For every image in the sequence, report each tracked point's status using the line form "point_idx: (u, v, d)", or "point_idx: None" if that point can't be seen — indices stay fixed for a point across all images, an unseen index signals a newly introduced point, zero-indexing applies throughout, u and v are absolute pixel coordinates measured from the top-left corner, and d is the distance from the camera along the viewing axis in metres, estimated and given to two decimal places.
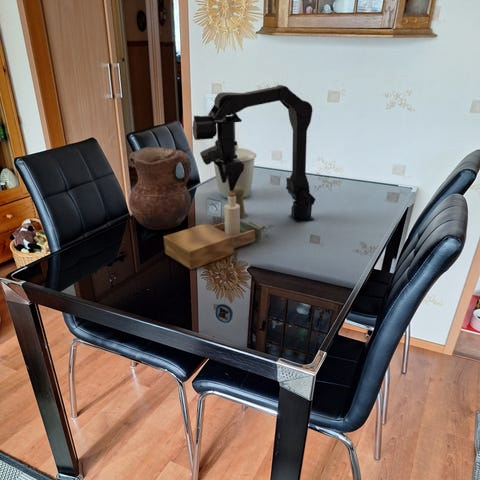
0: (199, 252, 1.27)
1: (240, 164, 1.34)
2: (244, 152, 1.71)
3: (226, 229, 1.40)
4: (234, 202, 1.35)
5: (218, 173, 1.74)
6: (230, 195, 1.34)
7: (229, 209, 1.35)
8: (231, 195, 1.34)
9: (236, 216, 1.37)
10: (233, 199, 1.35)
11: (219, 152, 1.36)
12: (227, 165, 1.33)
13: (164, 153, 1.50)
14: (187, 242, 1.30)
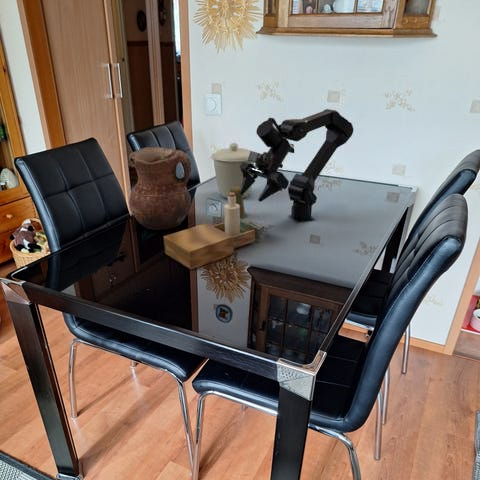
0: (199, 252, 1.27)
1: (288, 182, 1.35)
2: (244, 152, 1.71)
3: (226, 229, 1.40)
4: (234, 202, 1.35)
5: (218, 173, 1.74)
6: (230, 195, 1.34)
7: (229, 209, 1.35)
8: (231, 195, 1.34)
9: (236, 216, 1.37)
10: (233, 199, 1.35)
11: (270, 161, 1.36)
12: (281, 174, 1.32)
13: (164, 153, 1.50)
14: (187, 242, 1.30)
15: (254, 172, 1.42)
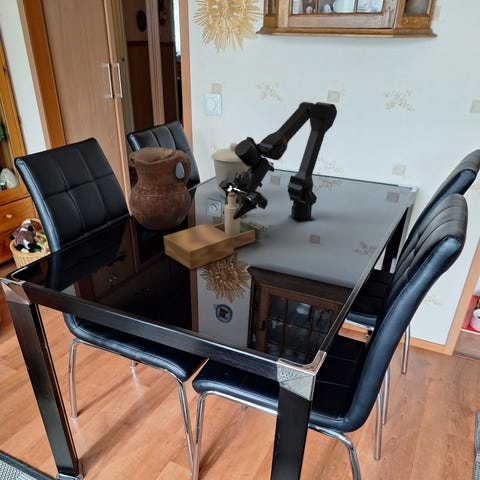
0: (199, 252, 1.27)
1: (266, 201, 1.33)
2: None
3: (226, 229, 1.40)
4: (234, 202, 1.35)
5: (218, 173, 1.74)
6: (230, 195, 1.34)
7: (229, 209, 1.35)
8: (231, 195, 1.34)
9: None
10: (233, 199, 1.35)
11: (248, 181, 1.34)
12: (259, 194, 1.30)
13: (164, 153, 1.50)
14: (187, 242, 1.30)
15: None
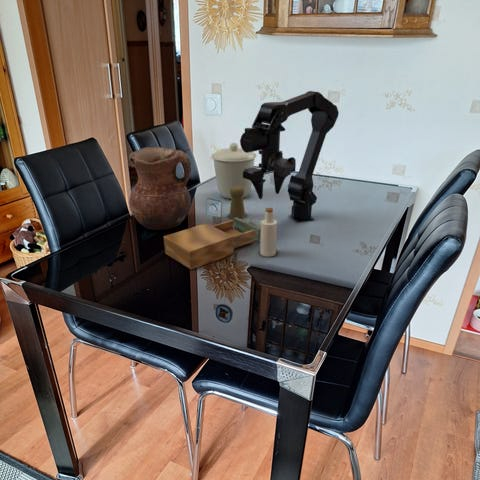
0: (199, 252, 1.27)
1: None
2: (244, 152, 1.71)
3: (265, 246, 1.33)
4: None
5: (218, 173, 1.74)
6: (269, 211, 1.28)
7: (270, 225, 1.29)
8: (270, 210, 1.28)
9: (276, 231, 1.31)
10: (272, 214, 1.29)
11: None
12: None
13: (164, 153, 1.50)
14: (187, 242, 1.30)
15: None
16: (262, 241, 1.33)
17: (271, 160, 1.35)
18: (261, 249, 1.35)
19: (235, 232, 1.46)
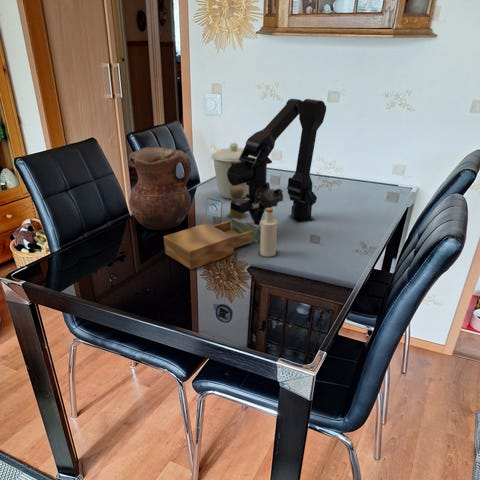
0: (199, 252, 1.27)
1: None
2: None
3: (265, 246, 1.33)
4: None
5: (218, 173, 1.74)
6: (269, 211, 1.28)
7: (270, 225, 1.29)
8: (270, 210, 1.28)
9: (276, 231, 1.31)
10: (272, 214, 1.29)
11: None
12: None
13: (164, 153, 1.50)
14: (187, 242, 1.30)
15: None
16: (262, 241, 1.33)
17: (258, 192, 1.37)
18: (261, 249, 1.35)
19: (233, 232, 1.46)
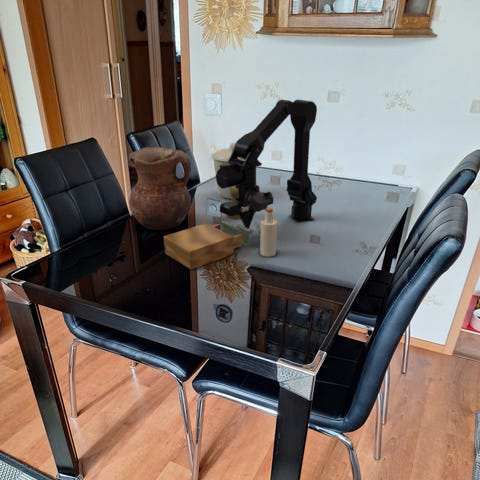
0: (199, 252, 1.27)
1: None
2: None
3: (265, 246, 1.33)
4: None
5: None
6: (269, 211, 1.28)
7: (270, 225, 1.29)
8: (270, 210, 1.28)
9: (276, 231, 1.31)
10: (272, 214, 1.29)
11: None
12: (272, 196, 1.43)
13: (164, 153, 1.50)
14: (187, 242, 1.30)
15: None
16: (262, 241, 1.33)
17: (247, 195, 1.35)
18: (261, 249, 1.35)
19: None
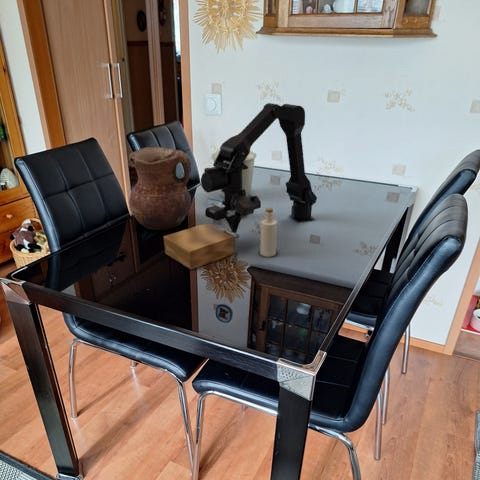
0: (199, 252, 1.27)
1: None
2: None
3: (265, 246, 1.33)
4: None
5: None
6: (269, 211, 1.28)
7: (270, 225, 1.29)
8: (270, 210, 1.28)
9: (276, 231, 1.31)
10: (272, 214, 1.29)
11: None
12: None
13: (164, 153, 1.50)
14: (187, 242, 1.30)
15: None
16: (262, 241, 1.33)
17: (233, 199, 1.32)
18: (261, 249, 1.35)
19: None
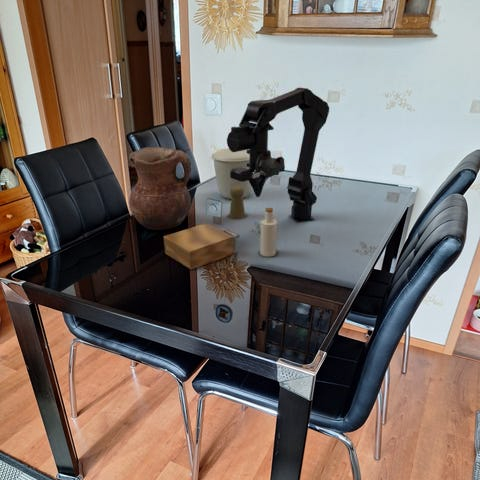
0: (199, 252, 1.27)
1: None
2: (244, 152, 1.71)
3: (265, 246, 1.33)
4: None
5: (218, 173, 1.74)
6: (269, 211, 1.28)
7: (270, 225, 1.29)
8: (270, 210, 1.28)
9: (276, 231, 1.31)
10: (272, 214, 1.29)
11: None
12: None
13: (164, 153, 1.50)
14: (187, 242, 1.30)
15: None
16: (262, 241, 1.33)
17: (259, 160, 1.32)
18: (261, 249, 1.35)
19: None
